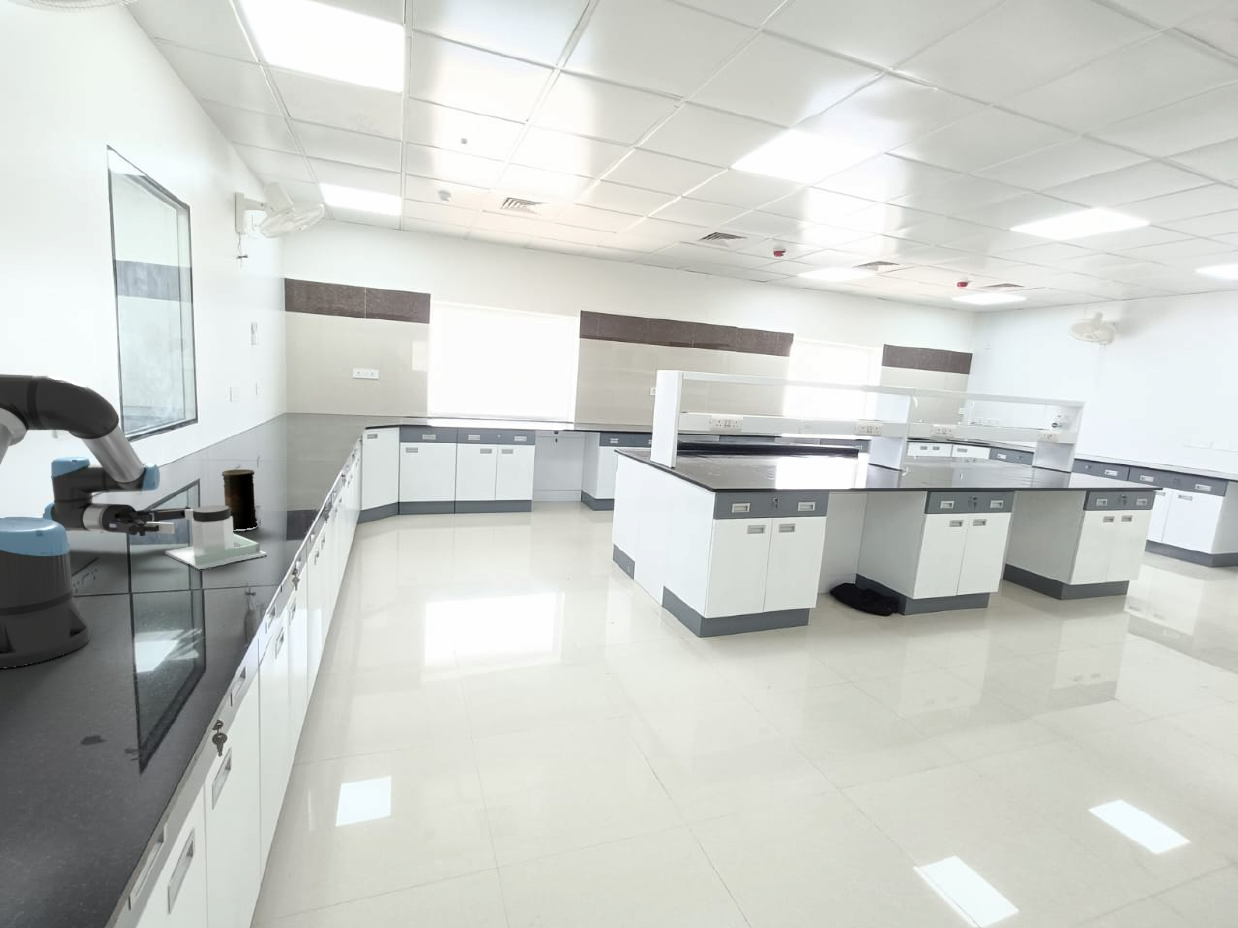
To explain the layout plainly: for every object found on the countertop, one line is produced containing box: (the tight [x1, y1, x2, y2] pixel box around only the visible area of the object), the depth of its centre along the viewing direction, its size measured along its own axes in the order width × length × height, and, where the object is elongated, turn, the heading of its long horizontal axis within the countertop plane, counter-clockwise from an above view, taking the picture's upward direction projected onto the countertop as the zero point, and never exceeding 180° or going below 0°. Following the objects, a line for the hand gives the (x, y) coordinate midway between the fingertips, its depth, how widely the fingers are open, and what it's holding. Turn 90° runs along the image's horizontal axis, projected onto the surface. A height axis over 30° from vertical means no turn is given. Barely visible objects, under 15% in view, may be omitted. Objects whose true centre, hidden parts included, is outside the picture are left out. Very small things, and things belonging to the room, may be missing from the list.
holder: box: [164, 532, 268, 569], centre depth 159 cm, size 20×16×3 cm
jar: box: [191, 504, 235, 555], centre depth 157 cm, size 9×8×12 cm
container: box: [221, 468, 259, 530], centre depth 182 cm, size 9×9×18 cm
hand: (192, 521), depth 158 cm, fingers open, 13 cm apart
